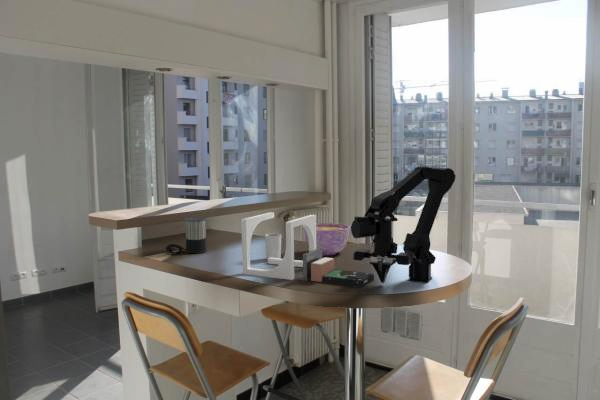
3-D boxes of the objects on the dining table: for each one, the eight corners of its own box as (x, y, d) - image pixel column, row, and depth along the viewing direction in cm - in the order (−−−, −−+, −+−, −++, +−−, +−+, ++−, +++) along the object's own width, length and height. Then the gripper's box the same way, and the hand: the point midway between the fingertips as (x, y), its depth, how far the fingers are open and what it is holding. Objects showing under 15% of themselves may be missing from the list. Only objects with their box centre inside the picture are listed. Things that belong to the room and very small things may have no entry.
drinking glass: (275, 256, 212) (275, 232, 210) (285, 259, 206) (284, 234, 205) (262, 258, 207) (261, 234, 206) (271, 261, 202) (271, 236, 201)
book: (334, 275, 180) (334, 258, 179) (321, 282, 171) (321, 264, 171) (324, 274, 182) (324, 257, 181) (311, 280, 173) (310, 262, 173)
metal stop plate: (322, 273, 183) (322, 248, 182) (307, 280, 173) (306, 254, 172) (313, 271, 185) (313, 247, 184) (297, 279, 174) (297, 253, 173)
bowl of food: (359, 252, 217) (359, 225, 216) (330, 260, 202) (330, 232, 201) (323, 246, 230) (323, 221, 229) (293, 254, 216) (293, 227, 214)
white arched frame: (242, 274, 183) (241, 219, 181) (270, 262, 201) (269, 212, 199) (291, 280, 174) (290, 222, 172) (316, 267, 192) (315, 214, 190)
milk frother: (211, 251, 223) (210, 218, 222) (182, 257, 211) (180, 222, 210) (191, 247, 232) (189, 215, 231) (161, 253, 220) (160, 219, 219)
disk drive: (374, 281, 173) (334, 276, 180) (374, 273, 173) (334, 268, 180) (362, 289, 164) (321, 283, 171) (362, 280, 164) (321, 275, 171)
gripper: (418, 233, 167) (418, 279, 169) (365, 229, 176) (365, 273, 178) (408, 239, 157) (407, 288, 159) (352, 235, 166) (352, 281, 168)
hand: (382, 282), depth 166 cm, fingers closed
